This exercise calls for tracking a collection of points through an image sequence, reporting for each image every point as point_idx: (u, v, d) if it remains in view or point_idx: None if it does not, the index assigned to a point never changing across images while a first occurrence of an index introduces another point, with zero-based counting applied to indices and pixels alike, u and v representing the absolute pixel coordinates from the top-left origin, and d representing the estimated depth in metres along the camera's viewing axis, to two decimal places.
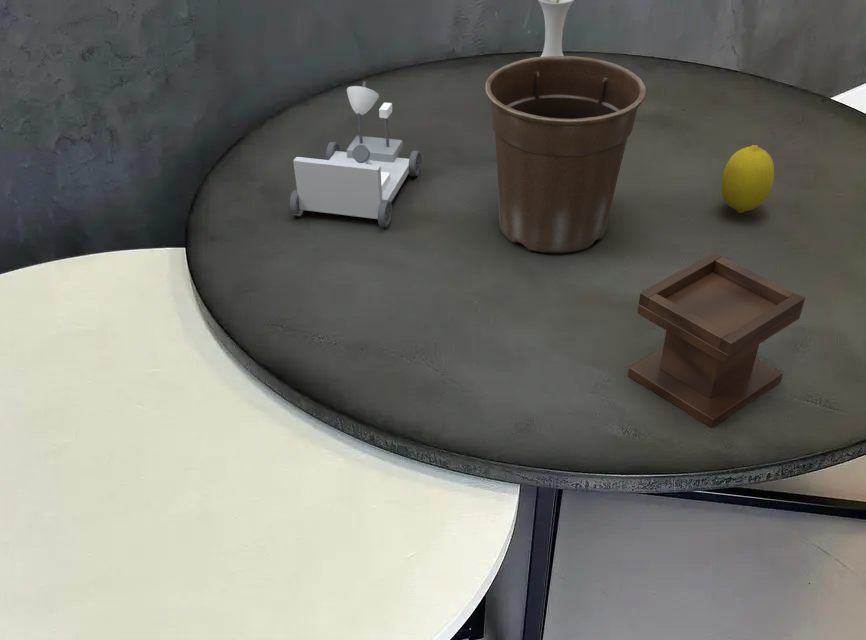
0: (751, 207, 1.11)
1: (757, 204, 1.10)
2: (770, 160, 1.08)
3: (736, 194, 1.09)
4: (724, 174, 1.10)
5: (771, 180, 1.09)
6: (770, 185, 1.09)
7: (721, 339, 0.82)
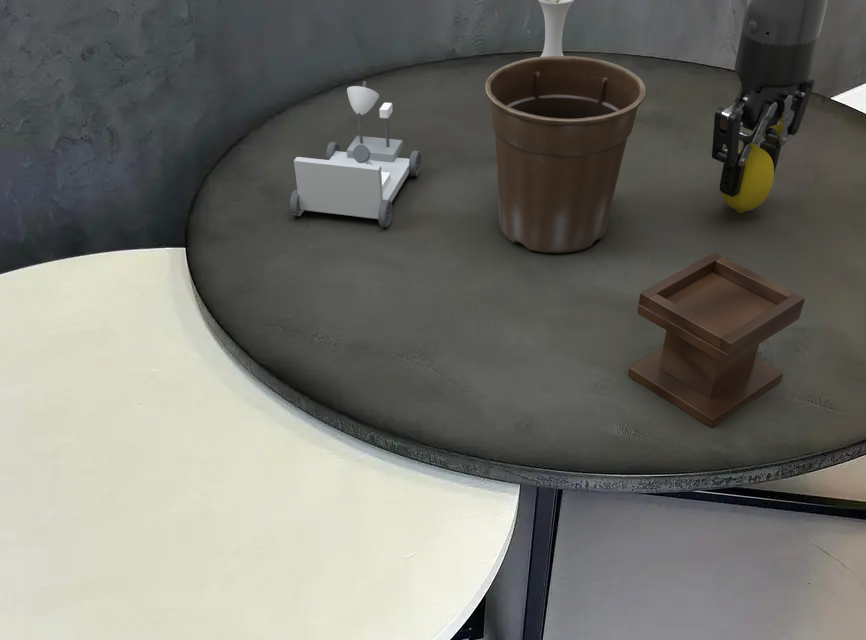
0: (751, 207, 1.11)
1: (757, 204, 1.10)
2: (770, 160, 1.08)
3: None
4: None
5: (771, 180, 1.09)
6: (770, 185, 1.09)
7: (721, 339, 0.82)
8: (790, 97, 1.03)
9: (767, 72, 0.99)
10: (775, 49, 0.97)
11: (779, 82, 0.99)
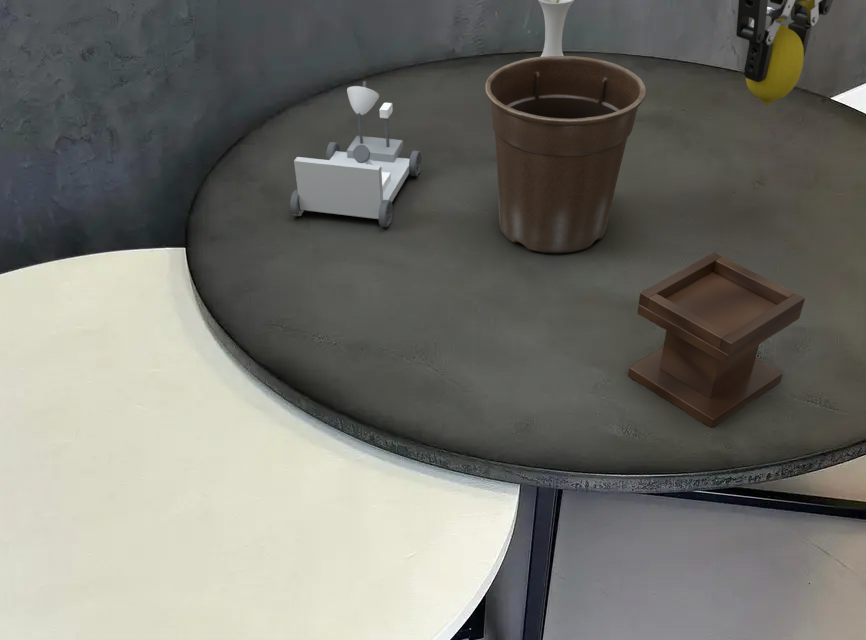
0: (778, 95, 1.02)
1: (785, 92, 1.01)
2: (799, 41, 0.99)
3: None
4: None
5: (800, 64, 1.00)
6: (799, 69, 1.00)
7: (721, 339, 0.82)
8: None
9: None
10: None
11: None
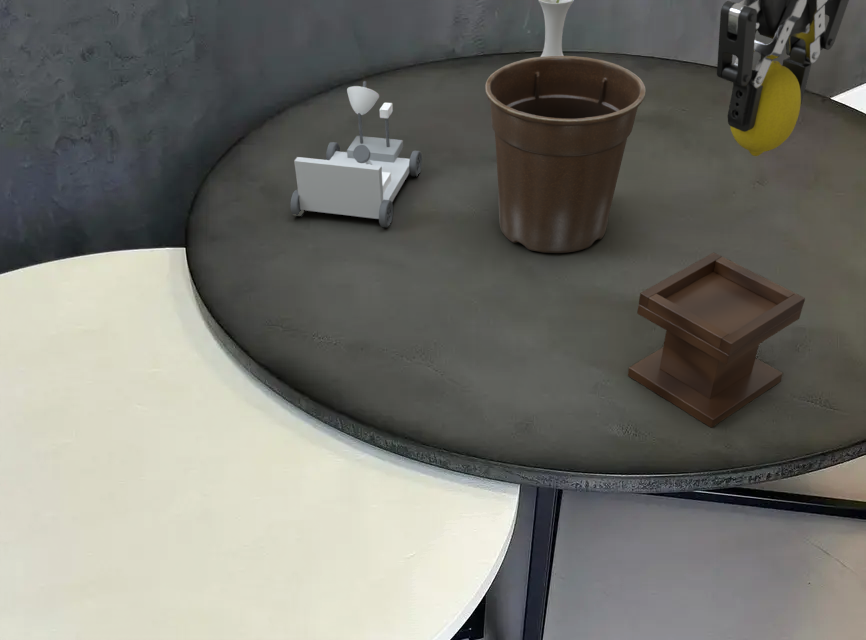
0: (770, 146, 0.83)
1: (778, 142, 0.83)
2: (796, 81, 0.80)
3: None
4: None
5: (797, 109, 0.81)
6: (795, 116, 0.81)
7: (721, 339, 0.82)
8: None
9: None
10: None
11: None
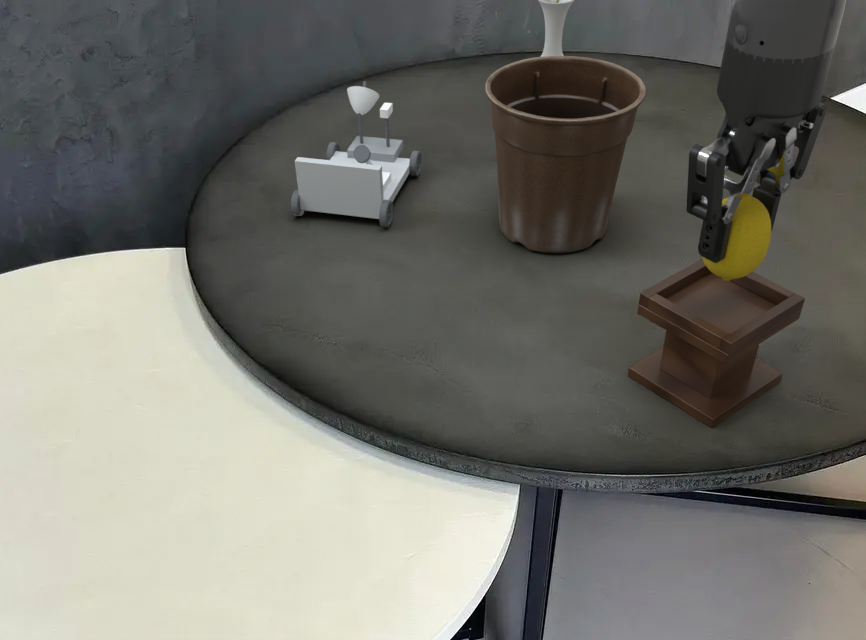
0: (740, 275, 0.82)
1: (749, 271, 0.82)
2: (766, 213, 0.80)
3: None
4: None
5: (767, 240, 0.80)
6: (766, 246, 0.81)
7: (721, 339, 0.82)
8: (794, 130, 0.75)
9: (761, 97, 0.70)
10: (773, 65, 0.68)
11: (778, 111, 0.71)
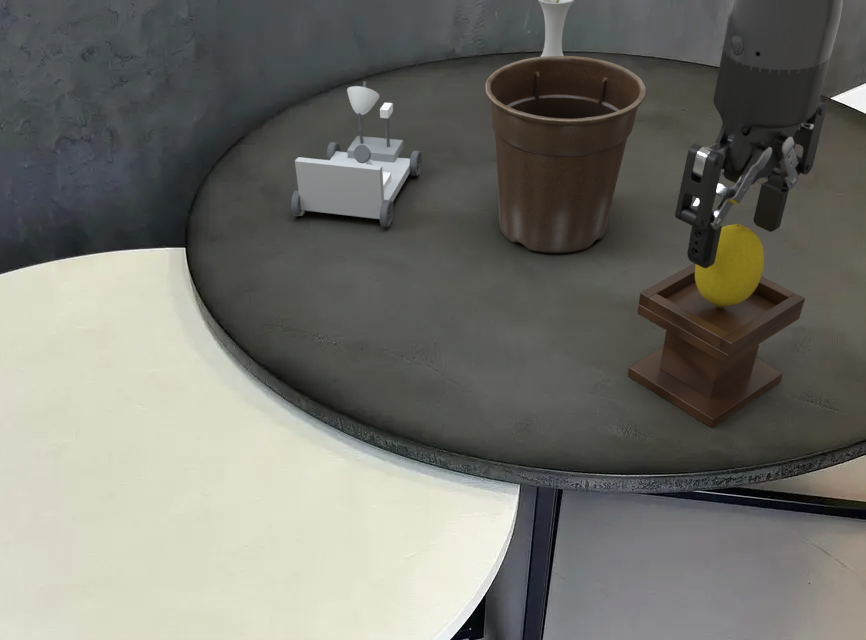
0: (734, 303, 0.84)
1: (742, 299, 0.84)
2: (759, 244, 0.81)
3: (714, 287, 0.83)
4: None
5: (760, 269, 0.82)
6: (759, 275, 0.83)
7: (721, 339, 0.82)
8: (789, 139, 0.75)
9: (758, 107, 0.71)
10: (769, 76, 0.69)
11: (775, 121, 0.71)
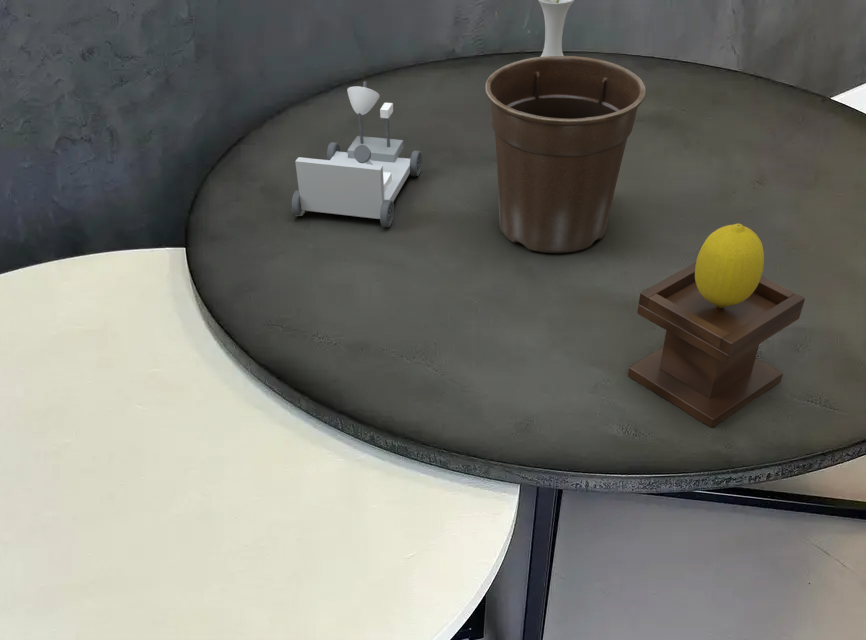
0: (734, 303, 0.84)
1: (742, 299, 0.84)
2: (759, 244, 0.81)
3: (714, 287, 0.83)
4: (698, 260, 0.84)
5: (760, 269, 0.82)
6: (759, 276, 0.83)
7: (721, 339, 0.82)
8: None
9: None
10: None
11: None
